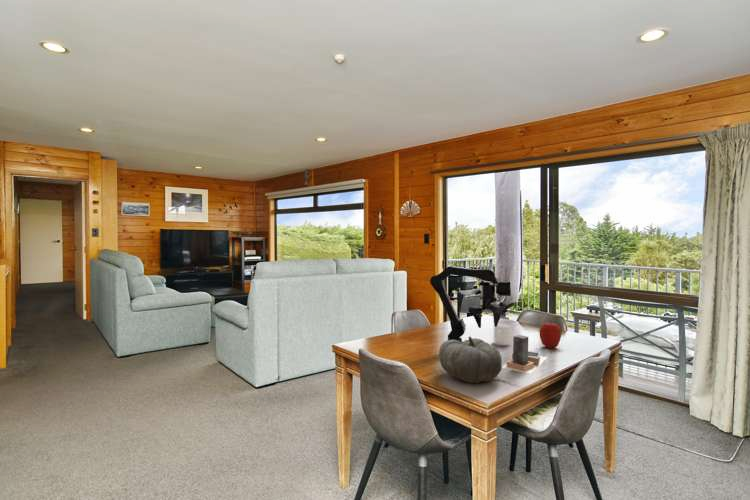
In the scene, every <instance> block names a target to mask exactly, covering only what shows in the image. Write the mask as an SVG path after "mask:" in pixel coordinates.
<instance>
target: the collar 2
mask: <svg viewBox="0 0 750 500" xmlns="http://www.w3.org/2000/svg"><path fill="white" fill-rule="evenodd" d="M528 356H534V357H539V361H540V356H541V352H536V351H529V350H528Z"/></svg>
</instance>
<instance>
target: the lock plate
mask: <svg viewBox="0 0 750 500" xmlns="http://www.w3.org/2000/svg"><path fill="white" fill-rule="evenodd" d="M547 359H548V356H542V355H540V361H539V357H534V356H528V361H530V362H534V367H533V368H531V369H528V370H526V371H522V370H518V369H515V368H511V367H508V366H507V363H505V364H504V365H503V366H501V369H505V370H511V371H515V372H520V373H524V374H529V375H531V374H533V372H534V371H535V370H536V369H537V368H538V367H540V365H541V364H543V363H544V362H545V361H546V360H547ZM511 360H513V353H512V355H511Z"/></svg>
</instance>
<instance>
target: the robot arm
mask: <svg viewBox="0 0 750 500" xmlns="http://www.w3.org/2000/svg"><path fill="white" fill-rule="evenodd" d="M453 275H454V276H460V277H462V276H463V277H471V278H476V279H478V280H481V281H480V282H479V283H478V286H480V287H482V288H481V289H482V291H481V292H482V293H481V296H480V299H481V304H480V306H476V305H475V306H469V308H468V313H470V315H472V316H473V318H474V320H475V322H476V324H477V327H478V328H479V329H481V328H482V317H483V314H482V313H484V312H486V313H487V312H492V314H493V316H492V317H493V324H494V325H493V327H494V326H495V327H497V324H499V322H500V319H501V317H502V316H503V315H505V314H506V313H508V307H507V305H506V302H505V301H500V302H499V301H497V300H498V299H497V297H496V296H495V293H496V295H497V296H498V297H499V296H502V297H511V296H512V295H511V294H512V293H511V292H512V291H511V290H512V288H511V281H499V279H498V278H497V277H496V273H495V271H494V270H493V269H492V268H480V269H479V268H478V269H474V268H466V267H459V266H453V265H449V266H447V267H446V268H445V269H444V270H443V271H441V272H440V273H438V274H435V275H432V276H431V278H430V280H429V282H430V285H431V287H432V288H433V290H434V291H435V292H436V293H437V294H438V297H439V299H440V301H441V304H442V305H443V308H444V310H445V312H446V315H447V317H448V318H449V323H450V328H451V330H450V332H449V333H448V334H447V341H448V340H457V341H460V342H463V338H462V336H464V334H465V331H466V329H467V328H466V327H467V325H466V323H465V322H464V318H460V317H458V315H457V312H456V310H455V308H454V305H453V304H452V303H453V302H452V301H451V299H450V297H449V294H448V293H447V290H446V284H445V280H446V279H447V278H448V277H449V276H453Z"/></svg>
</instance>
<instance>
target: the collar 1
mask: <svg viewBox="0 0 750 500" xmlns="http://www.w3.org/2000/svg"><path fill="white" fill-rule="evenodd" d="M506 364H507V366H508V367H511V368H515V369H518V370H522V371H526V370H528V369H531V368H533V367H534V362H530V361H528V364H526V365H520V364H516V363H513V360H512V359H511V360H508V361H506Z"/></svg>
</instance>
